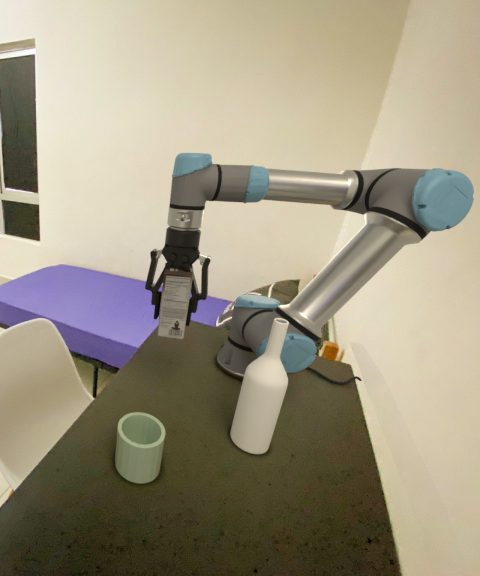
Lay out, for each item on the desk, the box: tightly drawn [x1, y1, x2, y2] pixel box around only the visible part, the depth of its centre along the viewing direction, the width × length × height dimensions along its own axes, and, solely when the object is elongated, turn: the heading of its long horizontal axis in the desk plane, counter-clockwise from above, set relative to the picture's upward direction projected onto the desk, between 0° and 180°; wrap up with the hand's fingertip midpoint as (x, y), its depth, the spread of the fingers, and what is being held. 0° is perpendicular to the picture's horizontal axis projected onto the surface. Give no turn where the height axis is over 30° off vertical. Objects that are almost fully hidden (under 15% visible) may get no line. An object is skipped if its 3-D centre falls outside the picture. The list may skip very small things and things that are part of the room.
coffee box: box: [157, 262, 193, 340], centre depth 80 cm, size 9×6×16 cm
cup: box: [114, 411, 166, 485], centre depth 66 cm, size 9×9×9 cm
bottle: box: [229, 318, 289, 455], centre depth 69 cm, size 8×8×30 cm
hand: (171, 320), depth 82 cm, fingers closed on coffee box, 7 cm apart
